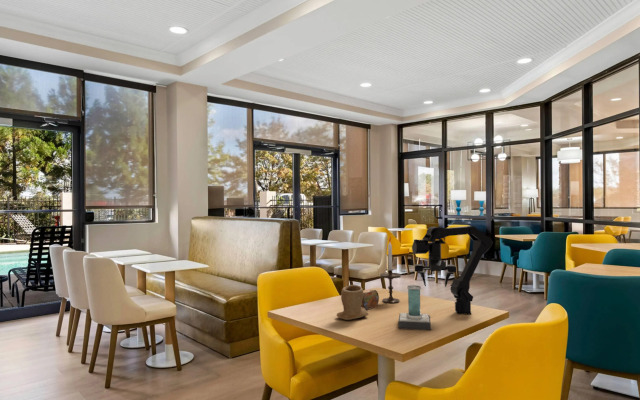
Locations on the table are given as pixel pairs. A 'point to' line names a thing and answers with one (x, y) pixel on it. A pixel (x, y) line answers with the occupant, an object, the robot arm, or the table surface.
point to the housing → (414, 302)
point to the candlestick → (390, 277)
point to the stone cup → (352, 303)
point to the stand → (414, 322)
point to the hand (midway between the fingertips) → (435, 286)
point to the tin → (370, 299)
